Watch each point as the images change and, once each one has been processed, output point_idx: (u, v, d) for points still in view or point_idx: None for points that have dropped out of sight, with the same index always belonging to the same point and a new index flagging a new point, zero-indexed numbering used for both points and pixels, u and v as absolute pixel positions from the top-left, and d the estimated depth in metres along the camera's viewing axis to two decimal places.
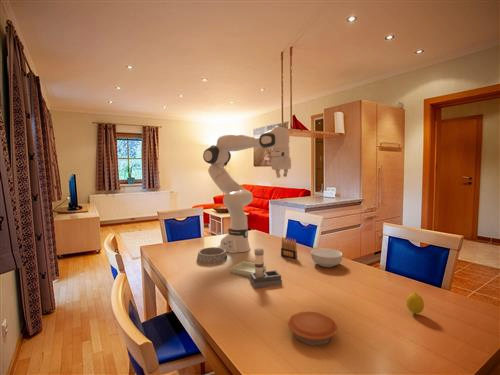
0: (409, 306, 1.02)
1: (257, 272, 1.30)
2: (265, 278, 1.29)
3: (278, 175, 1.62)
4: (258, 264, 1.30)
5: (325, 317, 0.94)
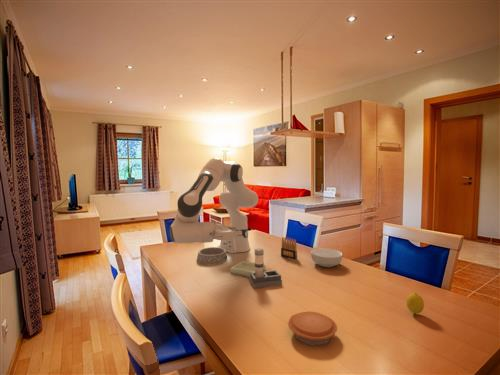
0: (409, 306, 1.02)
1: (257, 272, 1.30)
2: (265, 278, 1.29)
3: None
4: (258, 264, 1.30)
5: (325, 317, 0.94)
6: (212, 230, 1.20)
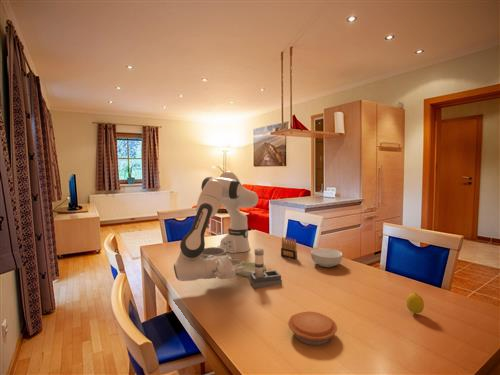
0: (409, 306, 1.02)
1: (257, 272, 1.30)
2: (265, 278, 1.29)
3: None
4: (258, 264, 1.30)
5: (325, 317, 0.94)
6: (215, 267, 1.22)
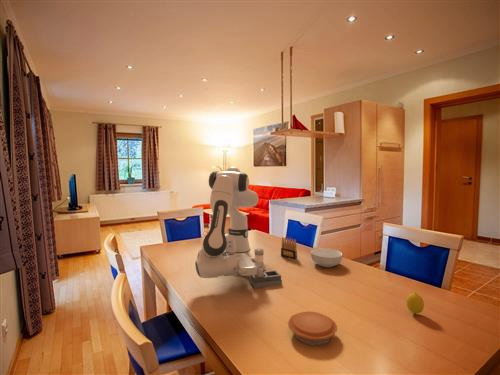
0: (409, 306, 1.02)
1: (257, 272, 1.30)
2: (265, 278, 1.29)
3: None
4: None
5: (325, 317, 0.94)
6: (236, 265, 1.24)
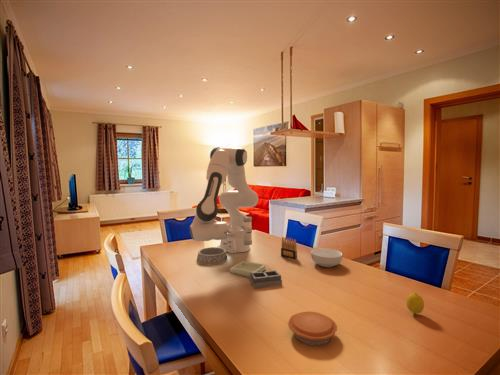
0: (409, 306, 1.02)
1: (246, 237, 1.44)
2: (265, 278, 1.29)
3: None
4: None
5: (325, 317, 0.94)
6: (226, 229, 1.38)
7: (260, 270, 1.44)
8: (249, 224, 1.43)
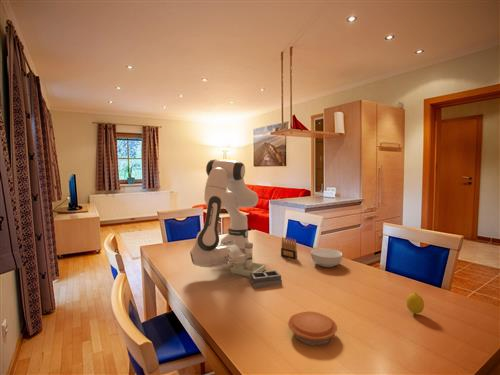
0: (409, 306, 1.02)
1: (246, 263, 1.45)
2: (265, 278, 1.29)
3: None
4: None
5: (325, 317, 0.94)
6: (226, 254, 1.39)
7: (260, 270, 1.44)
8: (250, 250, 1.45)
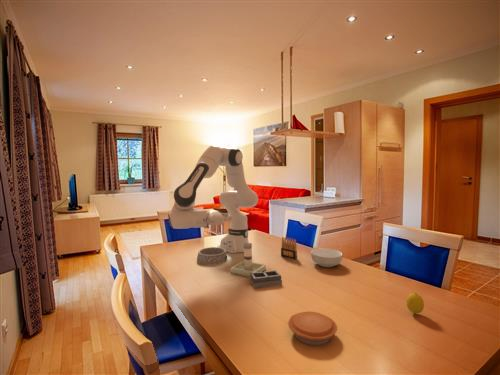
0: (409, 306, 1.02)
1: (246, 264, 1.45)
2: (265, 278, 1.29)
3: None
4: (247, 256, 1.44)
5: (325, 317, 0.94)
6: (205, 216, 1.35)
7: (260, 270, 1.44)
8: (249, 251, 1.44)
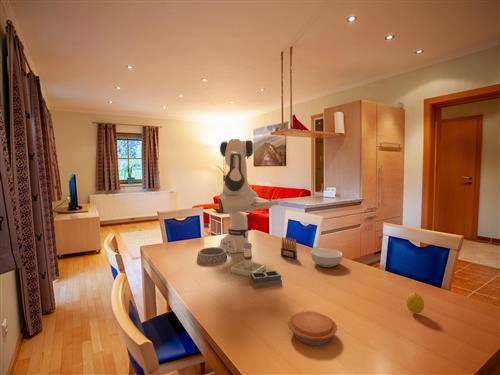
0: (409, 306, 1.02)
1: (246, 264, 1.45)
2: (265, 278, 1.29)
3: None
4: (247, 256, 1.44)
5: (325, 317, 0.94)
6: (253, 201, 1.47)
7: (260, 270, 1.44)
8: (249, 251, 1.44)
